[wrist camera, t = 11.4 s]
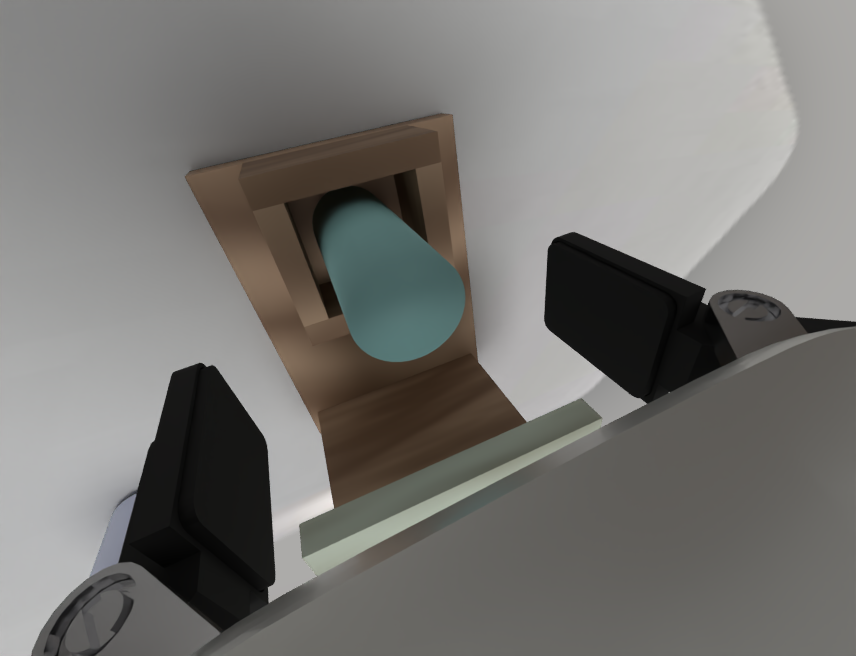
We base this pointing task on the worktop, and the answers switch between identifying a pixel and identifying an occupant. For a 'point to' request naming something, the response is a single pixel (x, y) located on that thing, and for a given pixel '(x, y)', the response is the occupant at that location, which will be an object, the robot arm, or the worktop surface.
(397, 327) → the peg
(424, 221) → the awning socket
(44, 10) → the worktop surface
